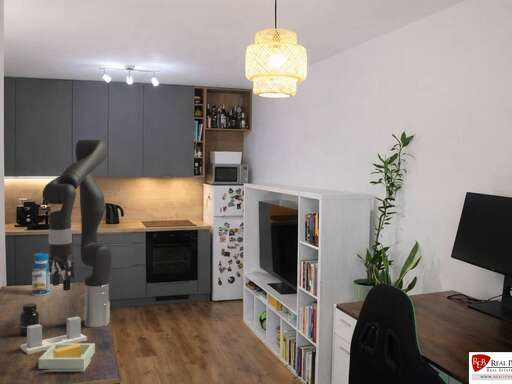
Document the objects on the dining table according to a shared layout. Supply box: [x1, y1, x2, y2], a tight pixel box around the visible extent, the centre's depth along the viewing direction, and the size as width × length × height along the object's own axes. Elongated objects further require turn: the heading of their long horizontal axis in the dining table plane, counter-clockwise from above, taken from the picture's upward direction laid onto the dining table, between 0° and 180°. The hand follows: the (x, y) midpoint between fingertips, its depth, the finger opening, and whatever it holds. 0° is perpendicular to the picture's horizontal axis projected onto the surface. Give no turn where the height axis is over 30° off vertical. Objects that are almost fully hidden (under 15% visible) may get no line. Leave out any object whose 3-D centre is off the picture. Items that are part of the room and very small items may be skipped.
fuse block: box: [20, 333, 88, 355], centre depth 180 cm, size 21×7×2 cm, turn 134°
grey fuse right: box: [66, 316, 82, 339], centre depth 185 cm, size 4×3×8 cm
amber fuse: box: [53, 344, 81, 358], centre depth 166 cm, size 4×3×8 cm
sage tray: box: [38, 342, 96, 373], centre depth 166 cm, size 14×14×4 cm
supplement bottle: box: [19, 302, 40, 338], centre depth 190 cm, size 7×7×12 cm
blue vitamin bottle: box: [31, 252, 51, 297], centre depth 250 cm, size 8×8×20 cm
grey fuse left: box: [26, 323, 43, 348], centre depth 175 cm, size 4×3×8 cm
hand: (61, 287), depth 174 cm, fingers open, 8 cm apart
